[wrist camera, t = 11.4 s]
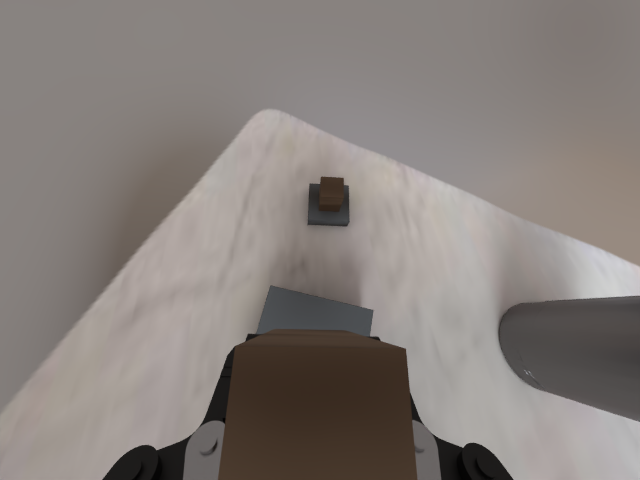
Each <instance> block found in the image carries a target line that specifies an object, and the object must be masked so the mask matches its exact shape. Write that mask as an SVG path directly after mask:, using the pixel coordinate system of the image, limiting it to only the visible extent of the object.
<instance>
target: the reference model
mask: <svg viewBox="0 0 640 480" xmlns="http://www.w3.org/2000/svg"><path fill="white" fill-rule="evenodd" d="M348 223H349V186H346V185H344V178H336V177H321V182H320V184H310V186H309V210H308V224H309V225H331V226H347V225H348Z"/></svg>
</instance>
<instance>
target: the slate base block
mask: <svg viewBox="0 0 640 480" xmlns="http://www.w3.org/2000/svg"><path fill="white" fill-rule="evenodd" d="M372 317H373V310H371V309H367V308H362V307H358V306H354V305H350V304H346V303H342V302H337V301H333V300H329V299H325V298H321V297H316V296H312V295H308V294H304V293H300V292H296V291H291V290H287V289H283V288H279V287H275V286H270V289H269V292H268V295H267V299H266V302H265V306H264V309H263V312H262V316H261V319H260V323H259V326H258V329H257V333H256V334H264V333H266V332H268V331H271V330H273V329H310V330H346V331H349V332H353V333H356V334H359V335H362V336H368V337H370V331H371V324H372Z"/></svg>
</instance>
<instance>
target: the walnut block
mask: <svg viewBox="0 0 640 480" xmlns="http://www.w3.org/2000/svg"><path fill="white" fill-rule="evenodd" d="M218 480H418V479H417V468H416V457H415V445H414V434H413V423H412V412H411V401H410V389H409V378H408V367H407V356H406V349H405V348H401V347H398V346H395V345H392V344H388V343H385V342H382V341H379V340H375V339H372V338H369V337H366V336H362V335H359V334H356V333H353V332H349V331H346V330H310V329H273V330H271V331H268V332H266V333H264V334H263V335H259V336H257V337H255V338H253V339H250V340H248V341H246V342H244V343H241V344H239V345H237V346H235V351H234V359H233V367H232V374H231V382H230V390H229V397H228V405H227V413H226V420H225V428H224V436H223V443H222V451H221V458H220V466H219V474H218Z"/></svg>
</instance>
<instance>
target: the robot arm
mask: <svg viewBox="0 0 640 480" xmlns="http://www.w3.org/2000/svg"><path fill="white" fill-rule="evenodd" d="M259 335H263V334H248V335H247V338H246V341H248V340H250V339H253V338H255V337H257V336H259ZM366 337H368V336H366ZM369 338H372V339H375V340H379V341H380V339H379V337H369ZM246 341H245V342H246ZM500 343H501V348H502V351H503V353H504V356H505V358H506V360H507V362H508V363H509V365H510V367H511V368H512V369H513V371H514V372H515V373H516V374H517V375H518V376H519V377H520V378H521V379H522V380H523V381H524V382H526V383H527V384H529V385H531V386H532V387H534V388H537V389H539V390H542V391H545V392H548V393H551V394H555V395H558V396H561V397H564V398H567V399H570V400H573V401H576V402H579V403H582V404H585V405H588V406H592V407H595V408H598V409H601V410H604V411H607V412H610V413H613V414H617V415H620V416H623V417H626V418H629V419H632V420H635V421H639V422H640V296H625V297H608V298H590V299H572V300H555V301H545V302H535V303H521V304H518V305H515V306H514V307H512V308H511V309H509V310H508V312H507V313H506V314H505V315H504V317H503V319H502V322H501V326H500ZM234 351H235V347H234V348H233V349H232V351H231V352H230V353H229V354H228V356H227V358H226V361H225V364H224V367H223V369H222V372H221V375H220V379H219V380H218V383H217V386H216V389H215V391H214V394H213V397H212V400H211V402H210V405H209V408H208V411H207V413H206V416H205V418H204V420H203V422H202V424H201V425H200V426H199V428H198V429H197V430H196V431H195V432H194V433H193V434H192V435H190V436H189V437H188V438H186V439H184V440H183V441H180V442H178V443H175V444H173V445H170V446H167V447H165V448H162V449H159V450H157V451H156V449H155V448H154V447H152V446H149V445H142V446H138V447H136V448H134V449H132V450H130V451H129V452H127V453H126V454H124V455H123V456H122V457H121V458H120V459H119V460H118V461H117V462H116V463H115V464H114V466H113V467H112V468H111V469H110V471H109V472H108V473H107V475H106V476H105V477H104V478H103V480H218V474H219V466H220V458H221V451H222V443H223V436H224V428H225V420H226V413H227V405H228V397H229V390H230V382H231V374H232V367H233V359H234ZM410 401H411V412H412V423H413V434H414V445H415V457H416V468H417V479H418V480H513V478H512V477H511V476H510V474H509V473H508V472H507V470H506V469H505V468H504V466H503V465H502V464H501V462H500V461H499V460H498V458H497V457H496V456H495V455H494V454H493V453H492V452H491V451H489V450H488V449H487V448H485V447H484V446H482V445H480V444H477V443H468V444H466V445H465V446H464V448H462V447H459V446H457V445H454V444H452V443H449V442H446V441H444V440H441V439H439V438H438V437H436V436H435V435H433V434H432V433H431V432H430V431H429V430H428V429H427V428H426V427H425V426H424V424H423V423H422V421H421V419H420V417H419V415H418V412H417V409H416V407H415V404H414V401H413V399H412V396H411V393H410Z"/></svg>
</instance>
